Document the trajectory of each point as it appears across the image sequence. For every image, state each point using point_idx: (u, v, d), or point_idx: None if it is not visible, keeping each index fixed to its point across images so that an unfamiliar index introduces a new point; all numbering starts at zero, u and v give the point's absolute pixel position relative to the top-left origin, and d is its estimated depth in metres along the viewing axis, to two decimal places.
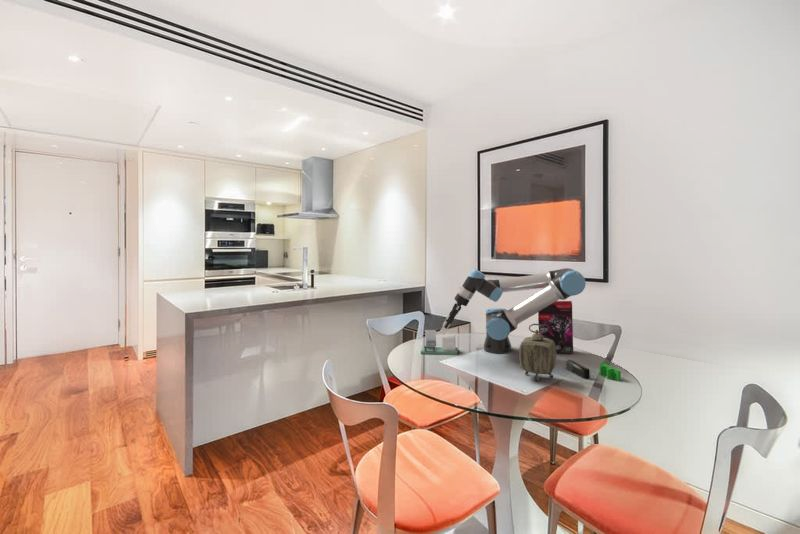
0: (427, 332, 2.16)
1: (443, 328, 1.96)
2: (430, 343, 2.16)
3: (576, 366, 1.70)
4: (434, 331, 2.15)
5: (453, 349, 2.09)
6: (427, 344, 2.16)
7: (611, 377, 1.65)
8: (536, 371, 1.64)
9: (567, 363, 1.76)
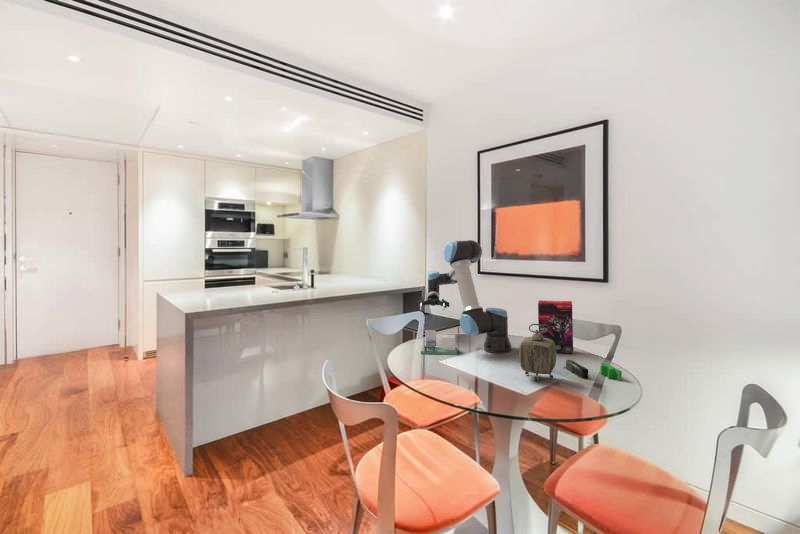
0: (427, 332, 2.16)
1: (420, 307, 2.26)
2: (430, 343, 2.16)
3: (575, 366, 1.70)
4: (434, 331, 2.15)
5: (453, 349, 2.09)
6: (427, 344, 2.16)
7: (612, 377, 1.65)
8: (536, 371, 1.64)
9: (567, 363, 1.77)
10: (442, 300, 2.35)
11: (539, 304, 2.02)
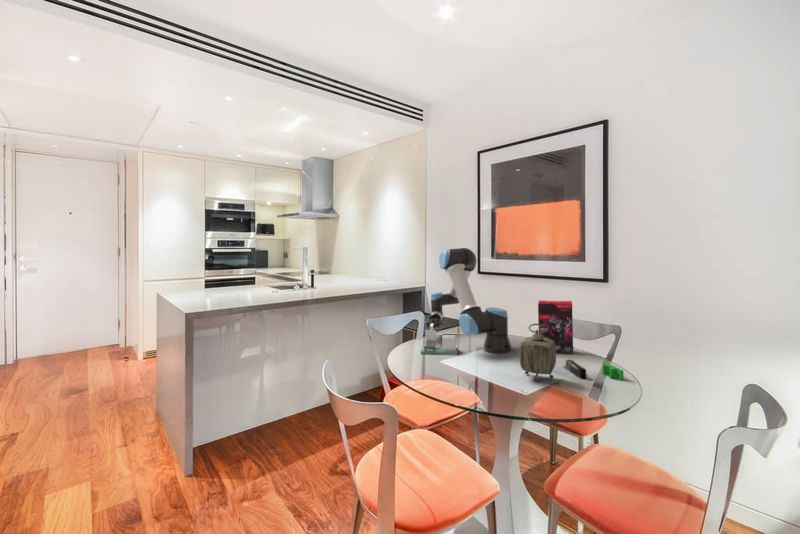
0: (427, 332, 2.16)
1: None
2: (430, 343, 2.16)
3: (573, 366, 1.71)
4: (434, 331, 2.15)
5: (453, 349, 2.09)
6: (427, 344, 2.16)
7: (614, 377, 1.65)
8: (536, 371, 1.64)
9: (566, 363, 1.77)
10: (440, 320, 2.36)
11: (539, 304, 2.02)
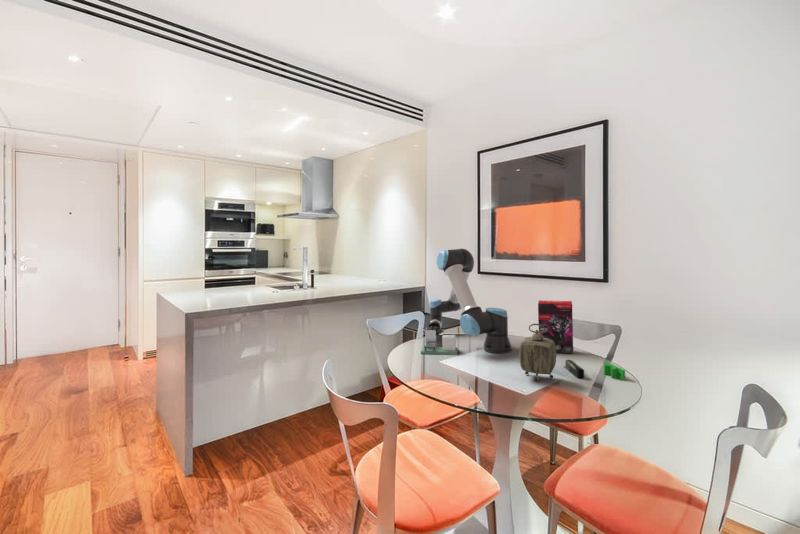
0: (427, 332, 2.15)
1: None
2: (430, 343, 2.16)
3: (572, 366, 1.71)
4: (434, 331, 2.15)
5: (453, 349, 2.09)
6: (427, 344, 2.16)
7: (615, 376, 1.65)
8: (536, 371, 1.64)
9: (566, 362, 1.77)
10: (439, 328, 2.30)
11: (539, 304, 2.02)
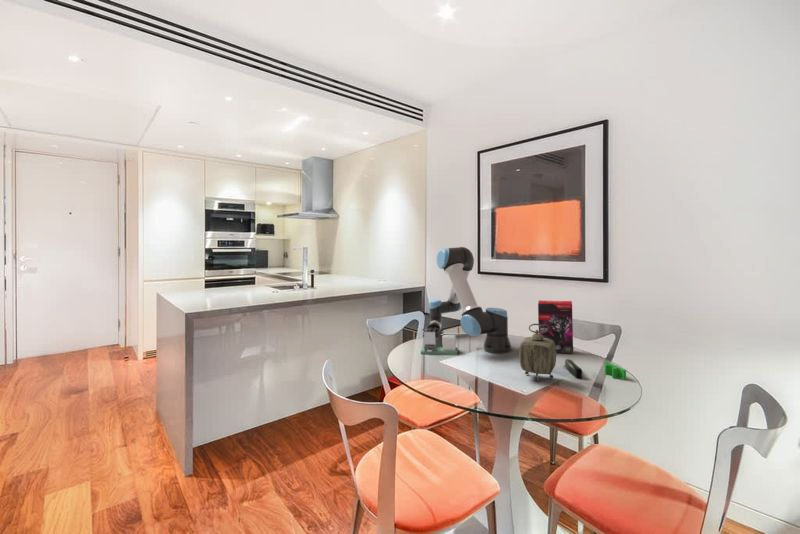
0: (426, 334, 2.12)
1: None
2: (429, 345, 2.12)
3: (571, 365, 1.71)
4: (433, 333, 2.11)
5: (453, 349, 2.09)
6: None
7: (616, 376, 1.65)
8: (536, 371, 1.64)
9: (565, 362, 1.78)
10: (439, 330, 2.26)
11: (539, 304, 2.02)
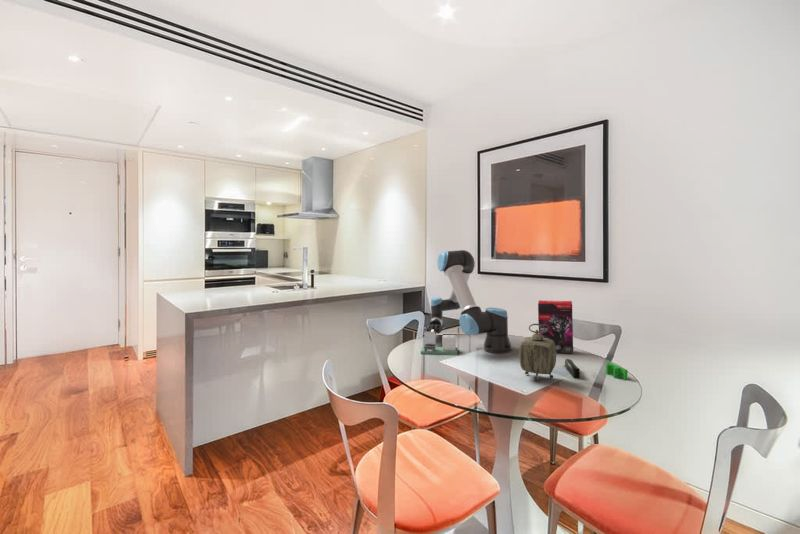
0: (426, 334, 2.12)
1: None
2: (429, 345, 2.12)
3: (569, 365, 1.72)
4: (433, 333, 2.11)
5: (453, 349, 2.09)
6: None
7: (618, 376, 1.65)
8: (536, 371, 1.64)
9: (565, 362, 1.78)
10: (440, 326, 2.35)
11: (539, 304, 2.02)
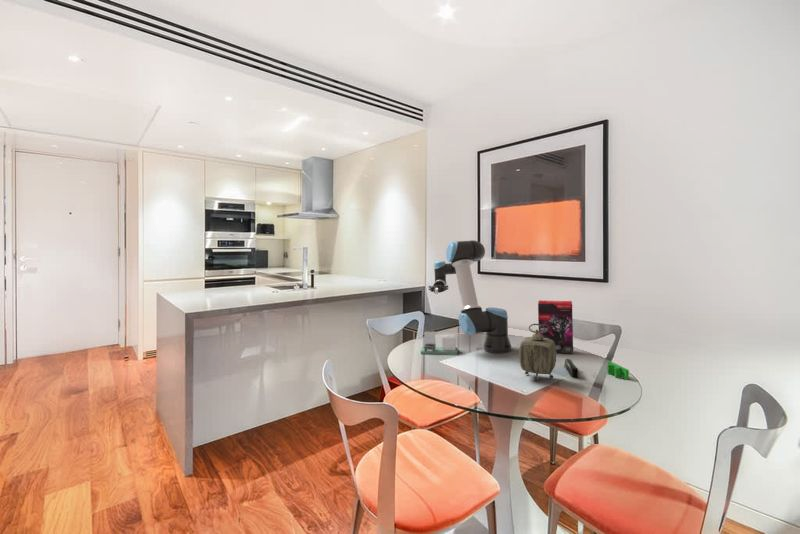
0: (426, 334, 2.12)
1: (435, 292, 2.29)
2: (429, 345, 2.12)
3: (568, 365, 1.72)
4: (433, 333, 2.11)
5: (453, 349, 2.09)
6: None
7: (619, 376, 1.66)
8: (536, 371, 1.64)
9: (565, 362, 1.78)
10: (444, 286, 2.40)
11: (539, 304, 2.02)
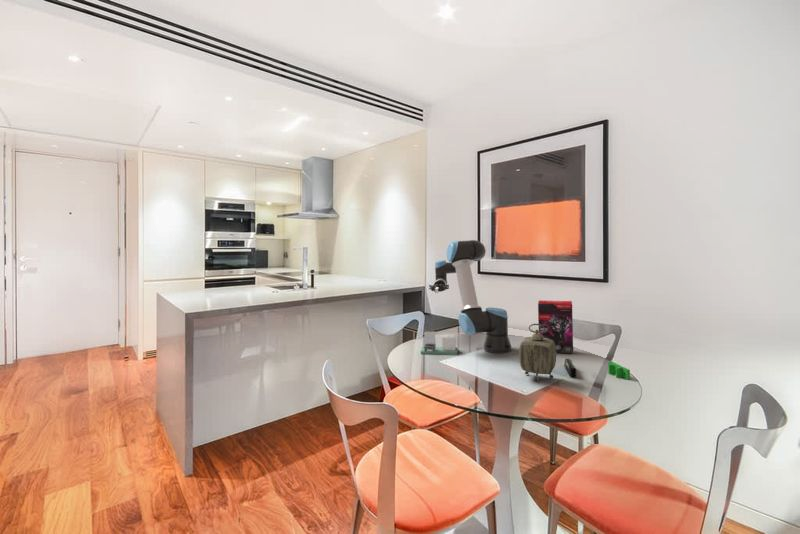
0: (426, 334, 2.12)
1: None
2: (429, 345, 2.12)
3: (567, 365, 1.73)
4: (433, 333, 2.11)
5: (453, 349, 2.09)
6: None
7: (620, 376, 1.66)
8: (536, 371, 1.64)
9: None
10: (445, 285, 2.40)
11: (539, 304, 2.02)
